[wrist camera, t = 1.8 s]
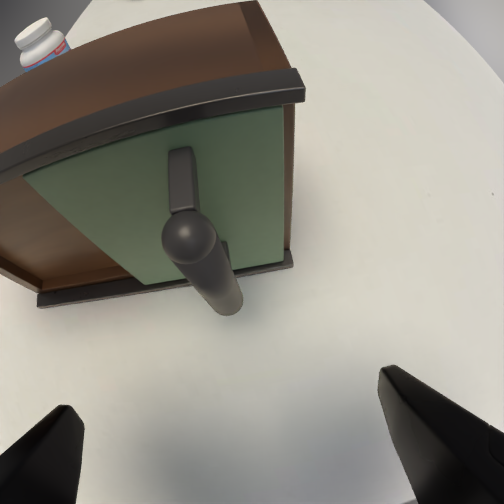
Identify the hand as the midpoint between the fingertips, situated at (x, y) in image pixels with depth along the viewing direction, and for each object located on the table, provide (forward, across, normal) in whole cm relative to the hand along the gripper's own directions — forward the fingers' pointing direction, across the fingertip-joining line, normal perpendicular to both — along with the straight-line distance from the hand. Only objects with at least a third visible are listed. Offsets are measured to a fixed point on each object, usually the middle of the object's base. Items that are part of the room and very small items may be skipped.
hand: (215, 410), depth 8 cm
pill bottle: (+34, +18, -17) cm, 42 cm away
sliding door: (+12, +1, +3) cm, 12 cm away
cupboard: (+17, +6, 0) cm, 18 cm away
